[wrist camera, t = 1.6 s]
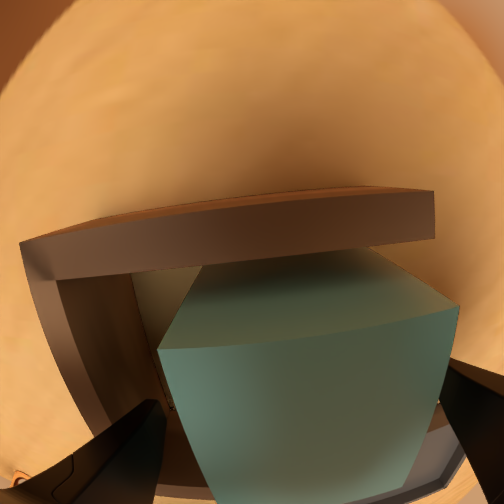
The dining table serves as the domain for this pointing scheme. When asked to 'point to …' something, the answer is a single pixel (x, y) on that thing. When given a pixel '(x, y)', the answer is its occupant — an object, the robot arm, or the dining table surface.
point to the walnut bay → (177, 256)
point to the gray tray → (427, 465)
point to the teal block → (307, 375)
